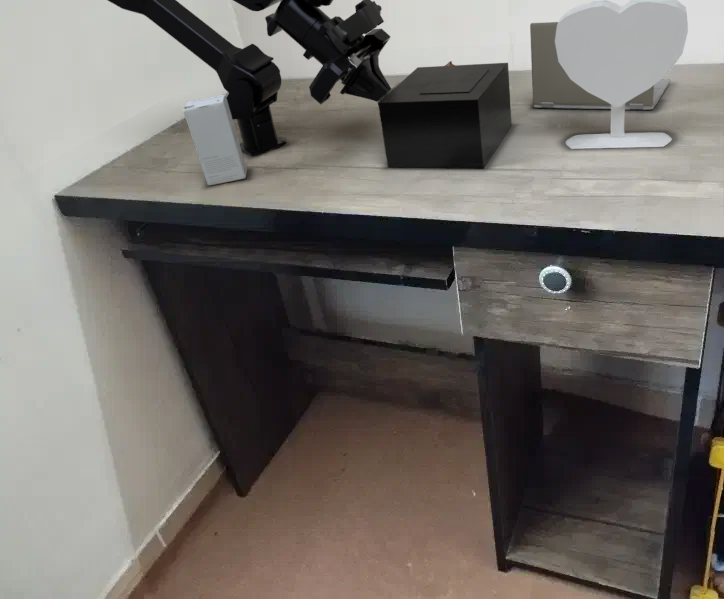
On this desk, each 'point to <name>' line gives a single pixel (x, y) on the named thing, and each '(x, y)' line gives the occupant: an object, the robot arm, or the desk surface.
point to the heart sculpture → (620, 58)
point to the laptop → (560, 89)
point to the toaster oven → (446, 116)
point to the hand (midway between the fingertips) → (395, 102)
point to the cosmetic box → (215, 139)
